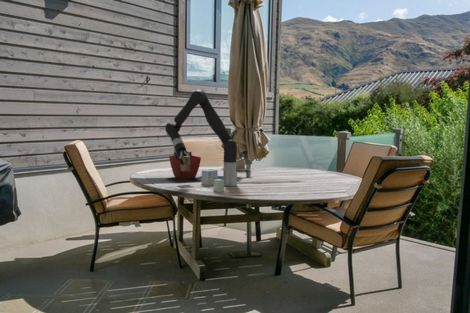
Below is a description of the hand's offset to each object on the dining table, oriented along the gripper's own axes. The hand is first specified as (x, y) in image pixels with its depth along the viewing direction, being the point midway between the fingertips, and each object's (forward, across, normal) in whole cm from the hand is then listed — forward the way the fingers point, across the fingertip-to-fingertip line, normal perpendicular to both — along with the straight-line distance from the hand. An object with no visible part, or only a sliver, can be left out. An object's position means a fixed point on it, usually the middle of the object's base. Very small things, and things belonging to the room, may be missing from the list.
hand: (186, 164), depth 298 cm
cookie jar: (-33, +84, +57) cm, 107 cm away
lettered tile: (+22, +6, +2) cm, 23 cm away
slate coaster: (+10, 0, +13) cm, 17 cm away
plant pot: (-16, +19, +40) cm, 47 cm away
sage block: (+27, +13, -4) cm, 31 cm away
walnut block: (+2, 0, +4) cm, 5 cm away
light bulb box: (+9, +21, +14) cm, 27 cm away
